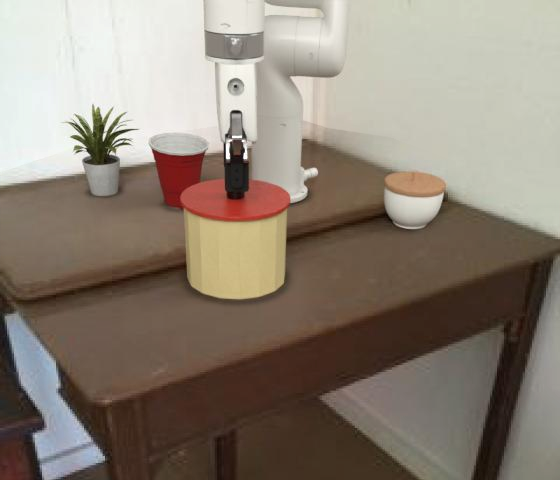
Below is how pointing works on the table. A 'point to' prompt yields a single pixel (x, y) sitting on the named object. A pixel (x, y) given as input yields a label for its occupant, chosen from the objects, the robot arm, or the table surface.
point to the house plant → (100, 152)
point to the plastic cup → (177, 163)
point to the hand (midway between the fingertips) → (235, 178)
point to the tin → (235, 255)
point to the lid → (235, 201)
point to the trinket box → (413, 198)
